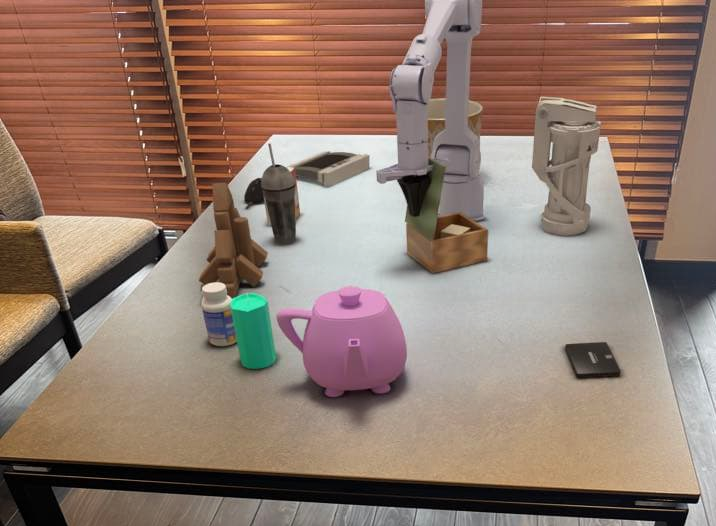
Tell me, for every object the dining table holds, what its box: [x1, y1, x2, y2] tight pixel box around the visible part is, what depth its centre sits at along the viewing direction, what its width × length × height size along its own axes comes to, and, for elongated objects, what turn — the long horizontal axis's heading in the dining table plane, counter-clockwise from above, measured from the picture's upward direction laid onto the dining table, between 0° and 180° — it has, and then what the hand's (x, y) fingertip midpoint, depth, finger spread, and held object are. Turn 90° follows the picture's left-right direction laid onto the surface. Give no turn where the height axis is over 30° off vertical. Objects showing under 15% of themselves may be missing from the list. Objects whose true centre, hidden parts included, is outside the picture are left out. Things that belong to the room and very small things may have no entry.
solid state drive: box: [564, 341, 621, 379], centre depth 129 cm, size 7×10×1 cm
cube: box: [441, 224, 471, 239], centre depth 162 cm, size 4×4×4 cm
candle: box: [230, 292, 277, 370], centre depth 130 cm, size 6×6×12 cm
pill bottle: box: [200, 281, 237, 347], centre depth 136 cm, size 5×5×10 cm
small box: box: [260, 166, 301, 226], centre depth 179 cm, size 8×6×10 cm
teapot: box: [275, 285, 408, 398], centre depth 122 cm, size 20×20×15 cm
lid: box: [404, 157, 446, 240], centre depth 153 cm, size 13×12×1 cm
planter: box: [428, 97, 484, 158], centre depth 194 cm, size 19×19×16 cm
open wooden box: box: [405, 212, 489, 274], centre depth 161 cm, size 13×12×6 cm
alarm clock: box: [286, 151, 370, 188], centre depth 206 cm, size 17×5×16 cm
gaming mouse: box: [244, 177, 265, 210], centre depth 193 cm, size 6×15×4 cm, turn 165°
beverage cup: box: [261, 143, 297, 246], centre depth 166 cm, size 7×7×20 cm
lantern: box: [531, 96, 602, 236], centre depth 165 cm, size 13×10×25 cm
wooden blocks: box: [198, 182, 268, 302], centre depth 154 cm, size 25×12×18 cm, turn 2°
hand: (414, 215), depth 155 cm, fingers closed
